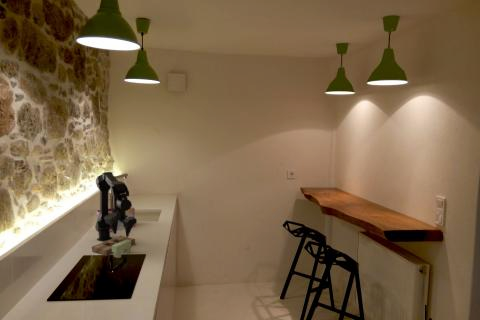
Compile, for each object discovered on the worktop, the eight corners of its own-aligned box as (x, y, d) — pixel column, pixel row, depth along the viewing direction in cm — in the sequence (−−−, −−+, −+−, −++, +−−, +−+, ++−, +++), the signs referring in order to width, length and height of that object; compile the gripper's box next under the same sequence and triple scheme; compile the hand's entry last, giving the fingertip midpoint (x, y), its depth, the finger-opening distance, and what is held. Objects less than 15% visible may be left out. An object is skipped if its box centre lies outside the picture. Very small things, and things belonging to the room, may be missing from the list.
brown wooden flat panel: (92, 251, 189) (91, 246, 189) (120, 240, 206) (120, 235, 206) (106, 255, 183) (106, 250, 183) (135, 243, 201) (135, 238, 200)
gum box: (133, 223, 240) (132, 204, 238) (137, 226, 233) (136, 207, 232) (97, 230, 227) (96, 210, 225) (100, 233, 220) (98, 212, 219)
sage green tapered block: (112, 257, 181) (111, 245, 180) (127, 251, 190) (126, 239, 189) (116, 258, 180) (116, 246, 179) (131, 252, 188) (131, 240, 187)
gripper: (94, 208, 179) (96, 237, 181) (119, 212, 170) (121, 243, 172) (112, 203, 189) (113, 231, 191) (136, 207, 180) (138, 236, 182)
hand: (121, 235), depth 184 cm, fingers open, 9 cm apart
